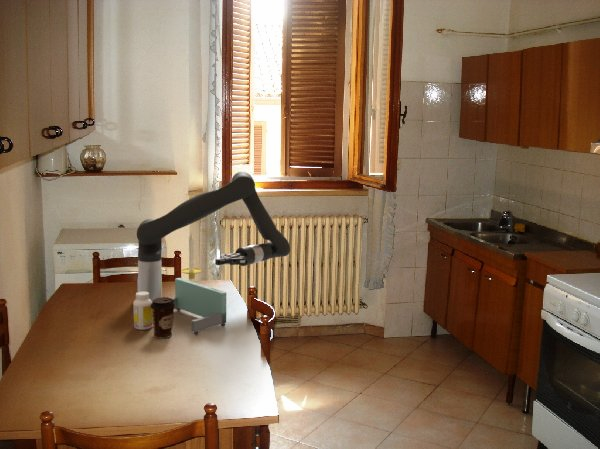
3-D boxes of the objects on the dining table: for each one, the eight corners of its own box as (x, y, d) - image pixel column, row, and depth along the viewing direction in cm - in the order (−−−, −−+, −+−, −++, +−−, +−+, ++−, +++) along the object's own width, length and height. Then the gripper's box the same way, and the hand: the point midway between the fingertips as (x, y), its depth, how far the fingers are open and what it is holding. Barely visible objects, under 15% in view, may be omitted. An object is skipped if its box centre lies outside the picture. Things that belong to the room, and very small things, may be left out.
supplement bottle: (155, 324, 251) (154, 291, 248) (149, 330, 244) (148, 296, 242) (137, 323, 251) (136, 290, 249) (131, 329, 245) (130, 295, 242)
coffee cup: (180, 334, 242) (180, 298, 239) (166, 341, 234) (166, 304, 232) (160, 329, 245) (159, 295, 243) (146, 337, 238) (145, 301, 236)
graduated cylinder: (194, 288, 298) (194, 227, 293) (208, 293, 291) (208, 231, 286) (175, 292, 292) (174, 230, 287) (188, 297, 284) (187, 234, 279)
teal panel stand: (147, 317, 258) (146, 284, 255) (179, 309, 269) (179, 277, 266) (194, 336, 240) (193, 300, 237) (226, 326, 250) (226, 292, 248)
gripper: (238, 243, 277) (205, 250, 265) (261, 248, 268) (228, 255, 256) (238, 261, 279) (205, 269, 266) (261, 267, 270) (228, 275, 257)
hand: (216, 262), depth 261 cm, fingers closed
